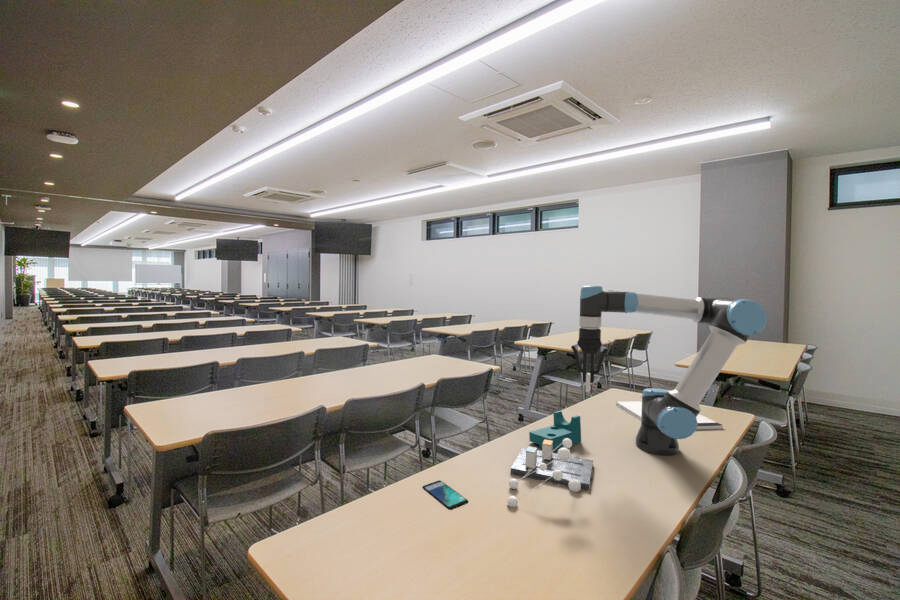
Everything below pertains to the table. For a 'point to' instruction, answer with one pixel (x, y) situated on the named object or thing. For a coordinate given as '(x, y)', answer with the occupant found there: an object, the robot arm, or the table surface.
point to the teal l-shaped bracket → (558, 431)
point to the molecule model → (557, 474)
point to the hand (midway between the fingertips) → (587, 391)
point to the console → (580, 469)
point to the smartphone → (445, 494)
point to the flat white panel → (636, 411)
